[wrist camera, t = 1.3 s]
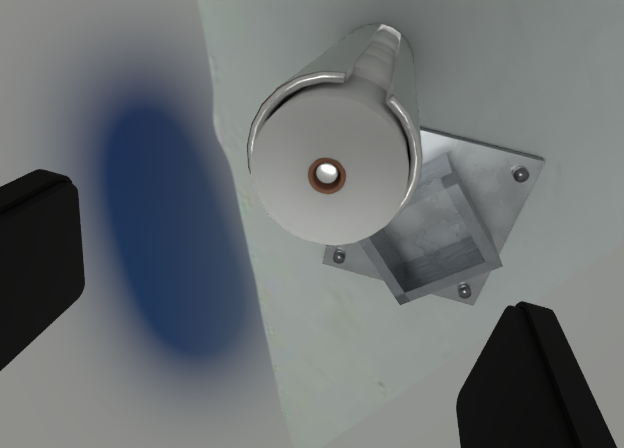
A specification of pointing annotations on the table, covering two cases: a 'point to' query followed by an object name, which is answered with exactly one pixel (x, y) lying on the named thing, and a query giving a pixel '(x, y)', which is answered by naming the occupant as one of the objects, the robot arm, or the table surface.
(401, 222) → the metal base plate
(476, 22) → the table surface
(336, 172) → the air filter
